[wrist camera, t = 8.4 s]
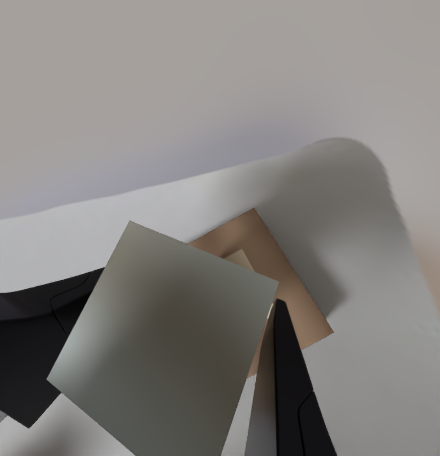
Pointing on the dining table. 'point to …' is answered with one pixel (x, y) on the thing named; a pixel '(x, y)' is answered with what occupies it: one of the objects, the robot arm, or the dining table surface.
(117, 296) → the oak column
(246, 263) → the plinth
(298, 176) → the dining table surface
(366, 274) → the dining table surface
